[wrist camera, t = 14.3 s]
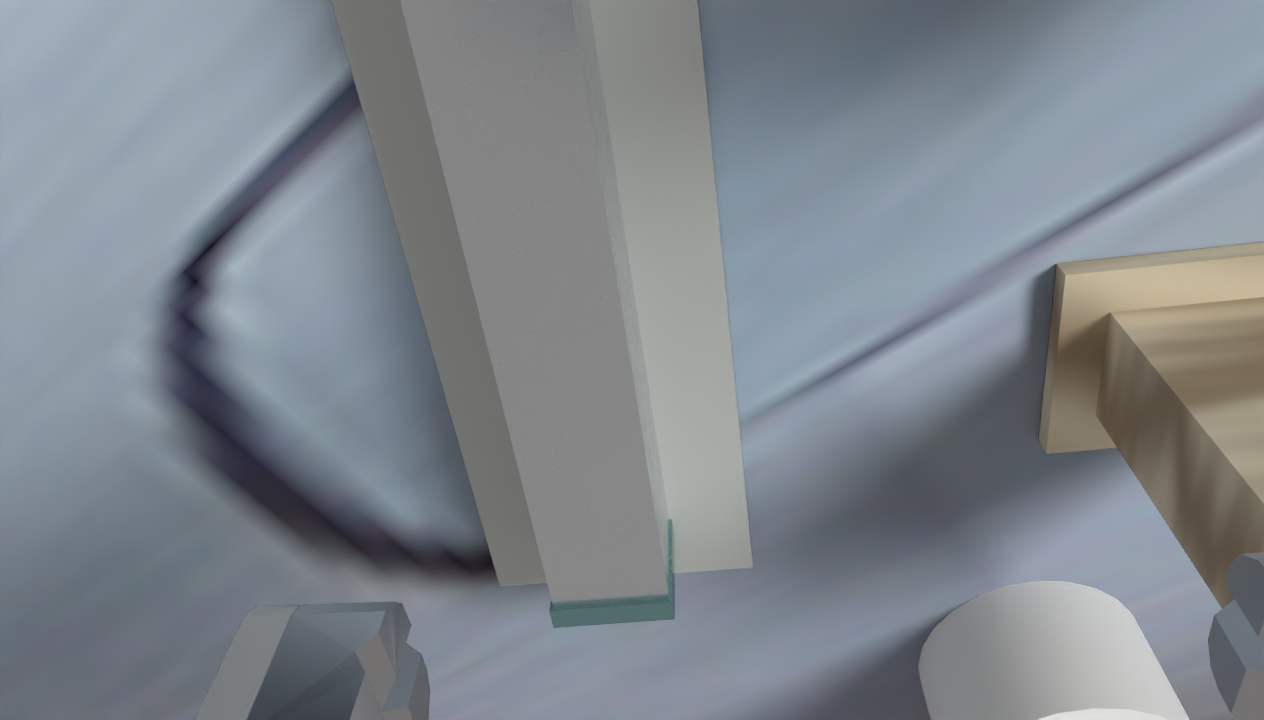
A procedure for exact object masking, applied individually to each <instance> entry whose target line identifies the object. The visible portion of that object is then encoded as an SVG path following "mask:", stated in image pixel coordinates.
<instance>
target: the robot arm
mask: <svg viewBox="0 0 1264 720" xmlns="http://www.w3.org/2000/svg"><path fill="white" fill-rule="evenodd" d="M1225 584H1226V586H1227V588H1228V589H1229V591H1230V592H1231V594H1232V596H1233V597H1234V600H1233V601H1232V602H1230V603H1229V604H1228V605H1226V606H1225V607H1224V608H1223V609H1221V610H1220V611H1219V612H1218V613H1216V614H1215V615H1214V618H1213V622H1212V626H1211V630H1210V634H1209V638H1208V645H1209V655H1210V665H1211V670H1212V673H1213V675H1214V678H1215V681H1216V684H1217V687H1218V690H1219V692H1220V694H1221V696H1222V697H1223V699H1224V701H1225V703H1226V705H1227V707H1228V709H1229V710H1230V712H1231V714H1233V715H1234V716H1235V717H1237V718H1238V719H1240V720H1264V552H1263V553H1248V554H1241V555H1240V556H1239V557H1237V558H1236V559H1235V560H1234V561H1233V562H1232V563H1231V565H1230V568H1229V571H1228V574H1227V577H1226V580H1225ZM410 627H411V624H410V621H409V619H408V616H407V614H406V612H405V609H404V607H403V604H402V603H398V602H363V603H328V604H302V605H284V606H256V607H255V608H254V609H253V610H252V611H251V612H250V613H249V614H247V615H246V616H245V617H244V619H243V620H242V622H241V624H240V626H239V628H238V630H237V633H236V635H235V637H234V639H233V641H232V643H231V645H230V647H229V649H228V651H227V653H226V655H225V657H224V659H223V661H222V663H221V666H220V668H219V670H218V672H217V674H216V676H215V678H214V680H213V682H212V684H211V686H210V688H209V690H208V692H207V694H206V696H205V699H204V701H203V703H202V705H201V707H200V709H199V711H198V713H197V715H196V717H195V719H194V720H429V701H430V687H429V680H428V673H427V668H426V666H425V663H424V660H423V657H422V654H421V653H419V652H418V651H417V650H415V649H414V648H412V647H411V646H409V645H408V644H407V643H406V641H407V638H408V634H409V631H410Z"/></svg>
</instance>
